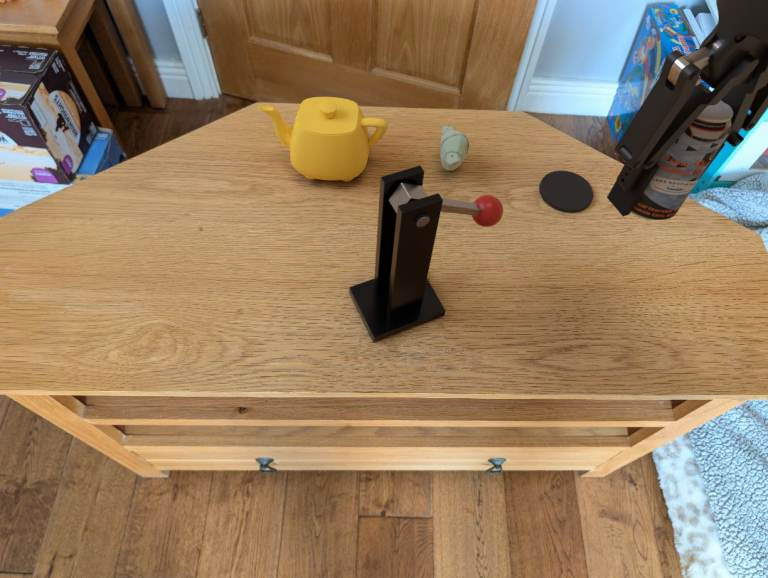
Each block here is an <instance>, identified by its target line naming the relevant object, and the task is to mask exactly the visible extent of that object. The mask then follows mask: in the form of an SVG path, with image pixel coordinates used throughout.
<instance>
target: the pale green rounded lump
mask: <svg viewBox="0 0 768 578" xmlns="http://www.w3.org/2000/svg"><path fill="white" fill-rule="evenodd" d="M439 143H440V144H439V148H440V149H439V150H440V151H439V152H440V153H439V156H440V162H441V165H442V167H443V169H444V170H445V171H454V170H456V169H457V168H458V167H460V166H461V164H462V163H463V162H464V160H465V159H466V157H467V155H468V153H469V149H470V142H469V139H468V137H467V135H466V134H465V133H464V132H463V131H458V130H456V129H455V127H454V126H450V125H449V126H448V125H446V126H445V125H444V126H442V129H441V139H440V142H439Z"/></svg>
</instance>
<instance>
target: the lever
mask: <svg viewBox="0 0 768 578" xmlns="http://www.w3.org/2000/svg"><path fill="white" fill-rule="evenodd" d="M427 196H429V195H428V194H427V192H426V191H425V189H424V187H423V185H422V186H419V185H413V184H407V183H401V184H400V185H399V186H398V188H397V189H396V191H395V192H394V193H393V195H392V196H391V198H390V199H389V201H390V203H391V205H392V206H393V208H394V210H395V211H396V213H397V209H398V206H399V205H402V204H405V203H408V202H411V201H415V200H418V199H421V198H424V197H427ZM442 199H443V203H442V208H441V212H442V213H450V214H458V215H465V216H471V218H472V220H473V221H474V223H475V224H477V225H479V226H480V227H483V228H490V227H494V226H496V225H497V224H498V223H499V222H500V221H501V220H502V218H503V215H504V207H503V203H502V201H501V200H500V199H499V198H498V197H497V196H494V195H492V194H484V195H480V196H479V197H477V198H476V199H475V200H474V201H473V202H472V201H466V200H458V199H451V198H445V197H442Z"/></svg>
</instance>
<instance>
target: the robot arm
mask: <svg viewBox="0 0 768 578" xmlns="http://www.w3.org/2000/svg"><path fill="white" fill-rule="evenodd" d="M715 5H716V8H717V17H718V20H717V24H716V25H715V26H714V28H713V29H712V30H711V32H710V33H708V35H707V36H706V37H705V38H704V39H703V40H702V41H701V43H700V45H699V47H698V49H697V50H695V51H692V52H691V53H688V54H687V55H685V54H684V53H683V52H681V51H680V50H679V49H675V50H673V51H671V52H669V54H668V55H667V56H666V57H665V59H664V62H663V64H662V68H661V71H660V73H659V75H658V79H657V80H656V82H655V84H654V85H653V87H652V89H650V91H649V93H648V94H647V96H646V98H645V99H644V101H643V103H642V104H641V105H640V107H639V109H638V110H637V112H636V114H635V115H634V117H633V118H632V120H631V122H630V123H629V124H628V126H627V128H626V129H625V131H624V132H623V134H622V136H621V137H620V139H619V140H618V142H617V144H616V145H615V147H614V152H615V153H616V154H617V155H618V156H619V157H620V158H621V159H622V160H623V162H624V165H623V166H622V169H621V170H620V171H619V174H618V175H617V177H616V180H615V183H613V185H612V187H611V189H610V191H609V193H608V194H607V196H606V198H607V200H608V201H609V202H610V204H612V206H613V207H614V208H615V210H617V212H618V213H619V214H620V215H621V216H622V217H626V216H630V214H632V213H631V211H632V209H633V208H634V206H635V205H636V203H637V202H638V200H639V199H640V197H641V195H642V194H643V192H644V191H645V189H646V188H647V186H648V185H649V183H650V181H651V180H652V178H653V177H654V175H655V174H656V172H657V171H658V169H659V166H658V165H657V163H656V162H657V161H658V160H659V159H660V158H661V157H662V156H663V154H664V153H665V152H666V151H667V150H668V149H669V148H670V147H671V146H672V145H673V143H674V142H675V141H676V140H677V139H678V138H679V137H680V136H681V135H682V134H683V132H684V131H685V130H686V129H687V128H688V127H689V126H690V125H691V124H692V123H693V122H694V120H695V119H696V118H697V117H698V116H699V115H700V114H701V113H702V112H703V111H704V109H705V108H706V107H707V106H709V105H716V104H718V103H719V102H720V101H723V102H724V103H725V104H728V105H729V106H730V107H731V108H732V110H733V116H732V118H731V131H730V133H729V135H728V137H727V138H726V140H725V141H724V143H723V144H722V146H721V147H720V149H719V150H718V152H717V153H716V155H715V156H714V158H713V159H712V161H711V162H710V164H709V165H708V167H707V168H706V170H705V171H704V173H703V174H702V176H703V175H704V174H705V173H706V171H707V170H708V168H709V167H710V166H711V165H712V163H713V162H714V161H715V159H716V158H717V156H718V155H719V154H720V152H721V151H722V150H723V148H724V147H725V146H726V142H727V144H729V145H730V146H731V147H732V148H735V147H738V146H739V145H741V144H742V143H743V141H744V140H745V137H744V136H742V135H741V134H740V131H741V130H743V131H744V132H749V131H751V130H753V129H754V128H755V126H756V125H758V123H759V121H760V120H761V118H762V117H763V115H764V114H765V112H766V111H767V110H768V0H715ZM702 81H703V82H704V83H705V84H706V85H707V86H709V87H710V88H711V89H713V90H711V89H709V87H707V86H706V85H705V84H704V83H703V82H702ZM749 111H750V112H749ZM702 176H701V177H700V179H701V178H702ZM700 179H699V180H698V182H699V181H700Z"/></svg>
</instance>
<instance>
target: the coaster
mask: <svg viewBox="0 0 768 578" xmlns="http://www.w3.org/2000/svg"><path fill="white" fill-rule="evenodd" d="M538 190H539V195H540V196H541V198H542V200H543V201H544V202H545V203H546V204H547V205H548V206H549V207H551V208H552V209H555V210H557V211H559V212H563V213H567V214H568V213H569V214H570V213H572V214H573V213H579V212H582V211H584V210H586V209H588V207H590V206H591V204H592V202H593V201H594V190H593V188H592V185H591V183H589V182H588V180H586V179H585V178H584V176H581V175H580V174H578V173H576V172H573V171H568V170H554V171H551V172H548V173H547V174H545V175H544V176H543V177H542V179H541V180H540V183H539V189H538Z"/></svg>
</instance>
